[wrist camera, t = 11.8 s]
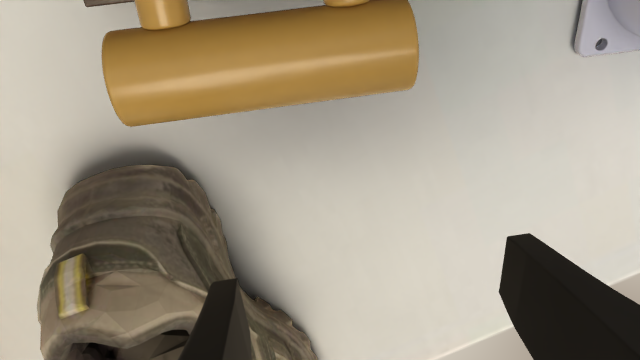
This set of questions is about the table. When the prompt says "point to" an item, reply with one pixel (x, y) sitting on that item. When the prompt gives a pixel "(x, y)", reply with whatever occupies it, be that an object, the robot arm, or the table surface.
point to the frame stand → (104, 2)
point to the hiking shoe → (143, 272)
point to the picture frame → (256, 58)
